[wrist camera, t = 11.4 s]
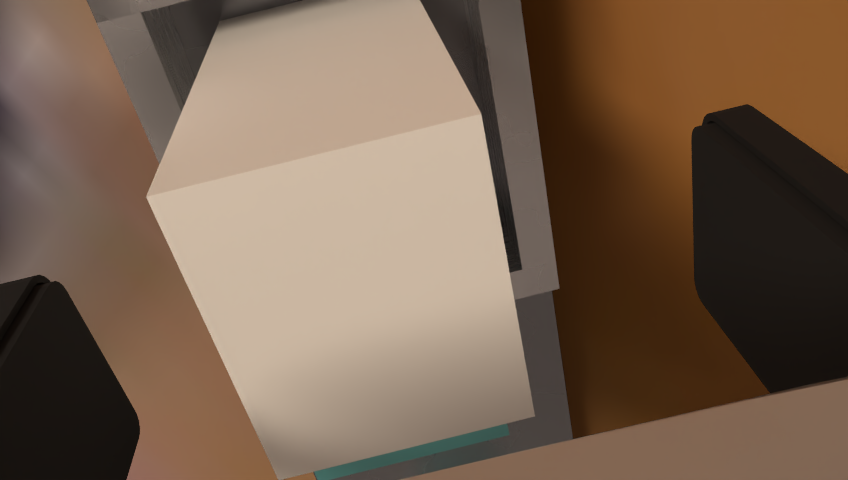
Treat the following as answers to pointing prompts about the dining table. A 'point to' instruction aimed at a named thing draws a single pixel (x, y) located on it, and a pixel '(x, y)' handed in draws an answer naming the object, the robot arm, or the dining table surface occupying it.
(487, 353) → the cream block teal pad
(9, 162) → the dining table surface
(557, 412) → the rail
